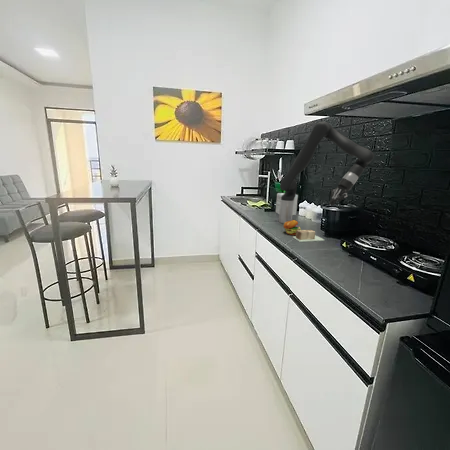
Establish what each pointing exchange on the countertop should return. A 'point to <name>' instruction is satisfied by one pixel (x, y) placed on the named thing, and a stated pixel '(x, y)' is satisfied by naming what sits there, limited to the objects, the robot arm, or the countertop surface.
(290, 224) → the cheeseburger
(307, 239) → the sage board
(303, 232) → the beech block
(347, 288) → the countertop surface
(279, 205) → the supplement box
